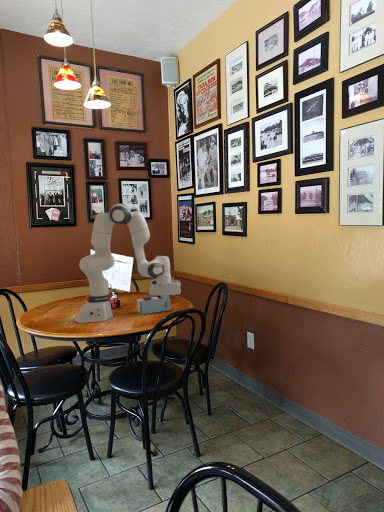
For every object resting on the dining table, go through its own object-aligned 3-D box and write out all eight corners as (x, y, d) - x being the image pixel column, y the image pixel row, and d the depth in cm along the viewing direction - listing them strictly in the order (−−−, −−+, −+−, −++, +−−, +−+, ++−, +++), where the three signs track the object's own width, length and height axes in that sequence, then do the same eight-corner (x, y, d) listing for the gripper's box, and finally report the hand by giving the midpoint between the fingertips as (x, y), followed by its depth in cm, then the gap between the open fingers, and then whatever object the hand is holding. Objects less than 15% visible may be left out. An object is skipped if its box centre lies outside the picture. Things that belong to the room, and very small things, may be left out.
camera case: (141, 314, 220) (140, 299, 219) (137, 311, 227) (136, 296, 226) (161, 311, 225) (160, 296, 224) (157, 308, 232) (156, 294, 231)
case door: (141, 314, 218) (140, 302, 217) (140, 314, 219) (139, 301, 219) (171, 310, 225) (170, 298, 224) (170, 309, 227) (169, 297, 226)
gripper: (180, 278, 229) (181, 300, 230) (148, 280, 229) (150, 301, 231) (180, 280, 223) (181, 302, 224) (147, 282, 223) (149, 303, 224)
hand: (165, 301), depth 227 cm, fingers closed
